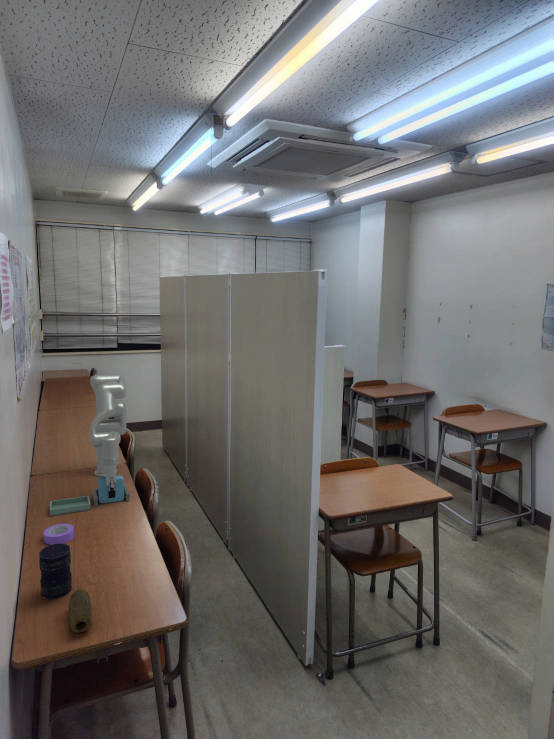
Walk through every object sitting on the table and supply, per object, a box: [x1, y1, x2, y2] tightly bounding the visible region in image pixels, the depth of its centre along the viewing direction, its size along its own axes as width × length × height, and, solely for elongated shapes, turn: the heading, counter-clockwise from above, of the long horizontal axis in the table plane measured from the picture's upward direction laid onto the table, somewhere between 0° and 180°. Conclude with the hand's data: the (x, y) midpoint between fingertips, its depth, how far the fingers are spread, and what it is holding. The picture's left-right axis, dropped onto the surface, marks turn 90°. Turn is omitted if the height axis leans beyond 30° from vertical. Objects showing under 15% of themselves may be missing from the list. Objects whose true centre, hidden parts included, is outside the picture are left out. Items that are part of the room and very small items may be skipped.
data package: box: [97, 475, 125, 504], centre depth 235 cm, size 12×4×12 cm, turn 111°
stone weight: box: [68, 589, 93, 634], centre depth 149 cm, size 15×7×7 cm, turn 29°
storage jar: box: [38, 543, 73, 600], centre depth 162 cm, size 10×10×15 cm
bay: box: [92, 484, 131, 507], centre depth 237 cm, size 12×16×4 cm
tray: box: [49, 495, 92, 517], centre depth 226 cm, size 11×18×3 cm, turn 115°
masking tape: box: [43, 523, 75, 546], centre depth 199 cm, size 12×12×4 cm
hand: (111, 495), depth 235 cm, fingers closed on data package, 4 cm apart
